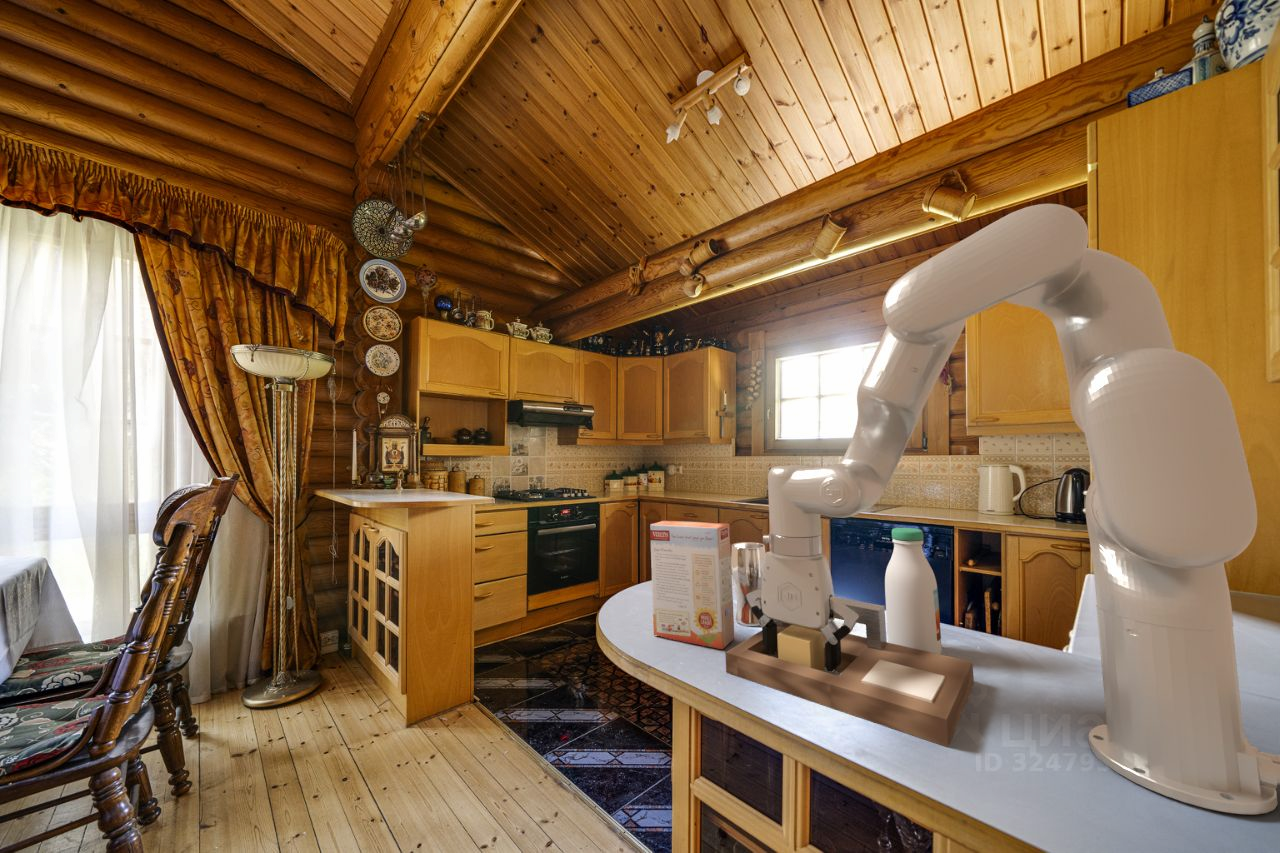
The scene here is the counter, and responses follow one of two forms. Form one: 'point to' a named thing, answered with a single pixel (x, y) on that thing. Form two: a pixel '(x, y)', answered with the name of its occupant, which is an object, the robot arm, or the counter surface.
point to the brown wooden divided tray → (870, 683)
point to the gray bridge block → (865, 621)
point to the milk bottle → (911, 594)
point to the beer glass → (747, 577)
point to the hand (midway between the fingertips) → (800, 659)
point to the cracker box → (692, 582)
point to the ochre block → (802, 647)
